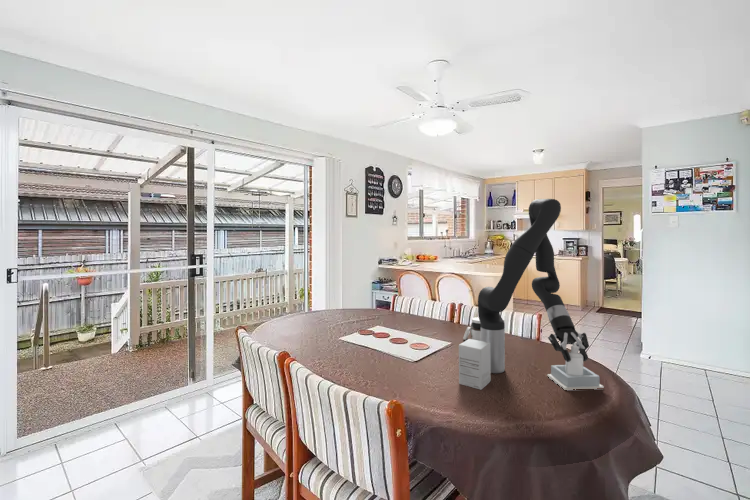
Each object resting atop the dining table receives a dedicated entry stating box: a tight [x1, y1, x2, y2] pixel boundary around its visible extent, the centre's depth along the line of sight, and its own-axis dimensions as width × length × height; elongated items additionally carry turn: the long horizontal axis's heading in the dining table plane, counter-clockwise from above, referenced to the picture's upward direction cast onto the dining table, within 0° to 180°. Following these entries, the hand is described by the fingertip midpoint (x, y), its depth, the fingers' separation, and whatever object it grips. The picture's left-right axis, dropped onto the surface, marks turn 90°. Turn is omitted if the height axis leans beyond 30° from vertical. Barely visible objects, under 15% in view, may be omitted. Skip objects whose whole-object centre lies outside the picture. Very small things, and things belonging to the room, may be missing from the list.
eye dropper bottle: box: [564, 342, 584, 376], centre depth 135 cm, size 4×6×12 cm
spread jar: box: [463, 316, 481, 341], centre depth 185 cm, size 12×11×12 cm
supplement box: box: [458, 338, 492, 391], centre depth 136 cm, size 9×9×15 cm
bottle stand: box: [546, 364, 605, 391], centre depth 135 cm, size 14×12×4 cm
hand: (577, 360), depth 133 cm, fingers closed on eye dropper bottle, 5 cm apart
